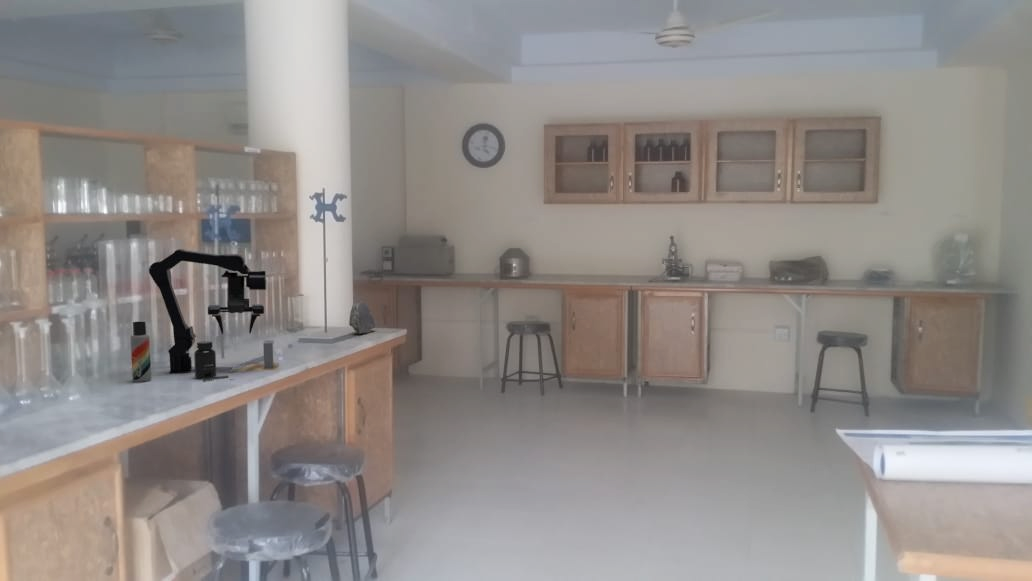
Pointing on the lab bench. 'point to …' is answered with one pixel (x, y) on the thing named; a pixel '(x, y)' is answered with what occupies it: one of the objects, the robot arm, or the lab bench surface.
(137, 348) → the lotion bottle
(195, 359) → the supplement bottle
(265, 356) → the thick grey slab block
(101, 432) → the lab bench surface
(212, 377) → the metal turner
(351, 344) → the lab bench surface
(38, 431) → the lab bench surface
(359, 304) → the decorative rock
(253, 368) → the cork mat
